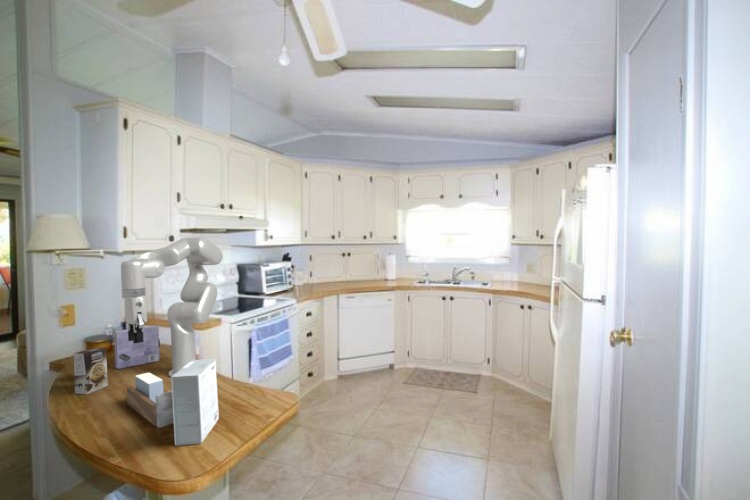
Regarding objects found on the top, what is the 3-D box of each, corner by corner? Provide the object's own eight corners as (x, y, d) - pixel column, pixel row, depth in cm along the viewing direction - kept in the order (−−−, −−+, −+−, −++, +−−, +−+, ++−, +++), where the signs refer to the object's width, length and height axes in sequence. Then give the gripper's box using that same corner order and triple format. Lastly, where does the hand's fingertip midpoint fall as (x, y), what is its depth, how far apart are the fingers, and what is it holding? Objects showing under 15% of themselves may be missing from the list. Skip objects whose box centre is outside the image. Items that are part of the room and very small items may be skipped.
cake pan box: (159, 358, 196) (157, 324, 195) (162, 360, 192) (160, 325, 192) (114, 367, 182) (113, 331, 182) (117, 370, 178) (115, 332, 178)
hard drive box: (194, 421, 123) (192, 359, 122) (219, 419, 123) (216, 358, 123) (173, 446, 107) (170, 376, 107) (201, 444, 108) (198, 374, 108)
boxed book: (149, 398, 143) (148, 372, 142) (164, 408, 133) (163, 380, 133) (136, 403, 139) (134, 375, 139) (150, 413, 130) (148, 383, 130)
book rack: (155, 396, 145) (154, 369, 145) (189, 417, 125) (187, 387, 125) (127, 404, 138) (126, 376, 138) (158, 428, 118) (156, 396, 118)
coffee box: (87, 394, 149) (86, 353, 148) (74, 393, 150) (72, 353, 150) (108, 385, 158) (106, 347, 157) (95, 385, 159) (93, 346, 159)
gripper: (153, 293, 141) (155, 342, 141) (137, 290, 152) (139, 336, 152) (129, 296, 135) (132, 347, 135) (115, 293, 146) (117, 340, 147)
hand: (135, 341), depth 144 cm, fingers open, 4 cm apart
